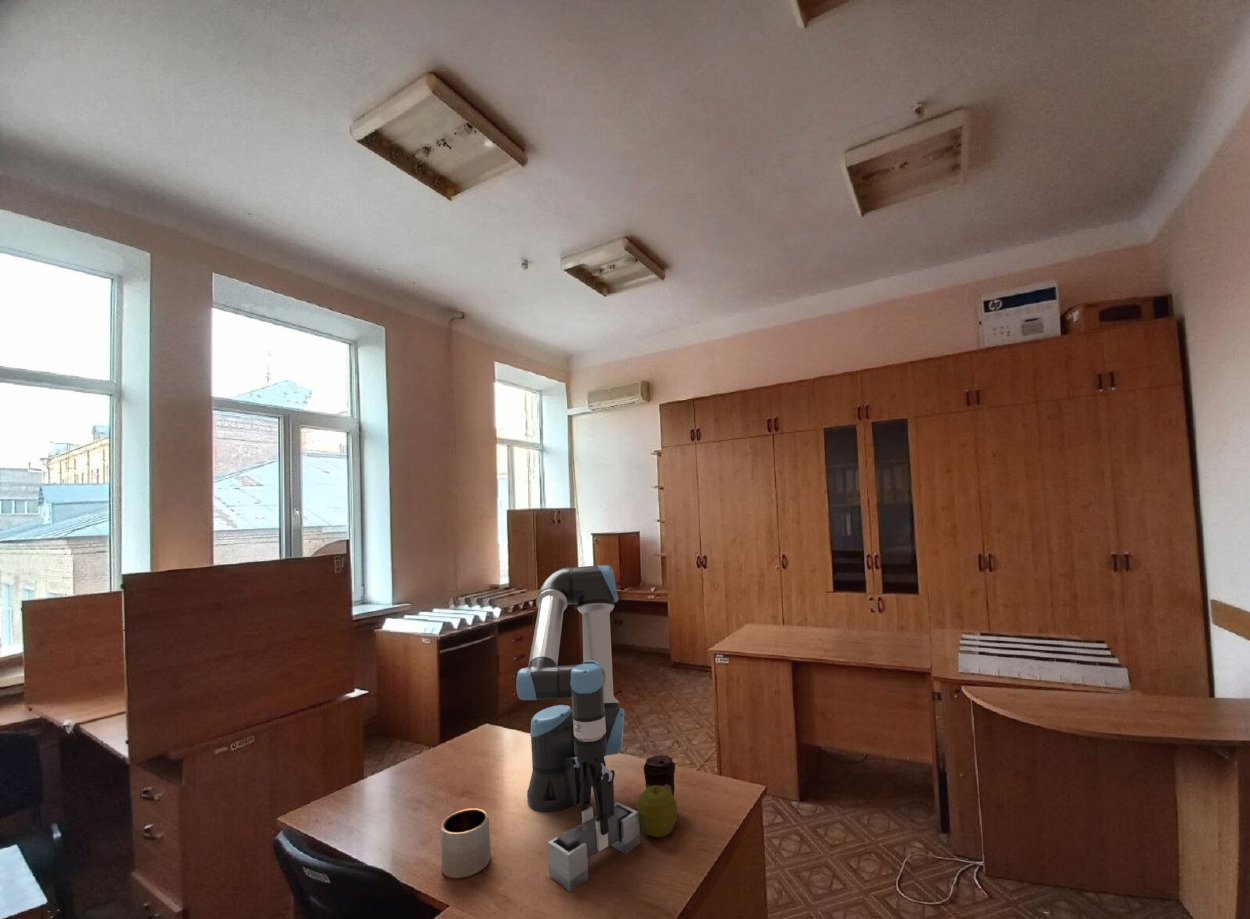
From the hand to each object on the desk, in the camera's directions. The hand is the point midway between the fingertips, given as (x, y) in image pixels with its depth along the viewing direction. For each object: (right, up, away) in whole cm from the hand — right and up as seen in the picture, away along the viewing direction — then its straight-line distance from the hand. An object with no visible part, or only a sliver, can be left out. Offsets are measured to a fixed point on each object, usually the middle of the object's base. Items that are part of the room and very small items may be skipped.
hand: (595, 843), depth 120 cm
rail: (0, -1, 0) cm, 1 cm away
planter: (-30, -6, +1) cm, 30 cm away
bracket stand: (0, -3, 0) cm, 3 cm away
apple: (+15, -4, +8) cm, 17 cm away
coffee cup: (+16, -4, +17) cm, 24 cm away
